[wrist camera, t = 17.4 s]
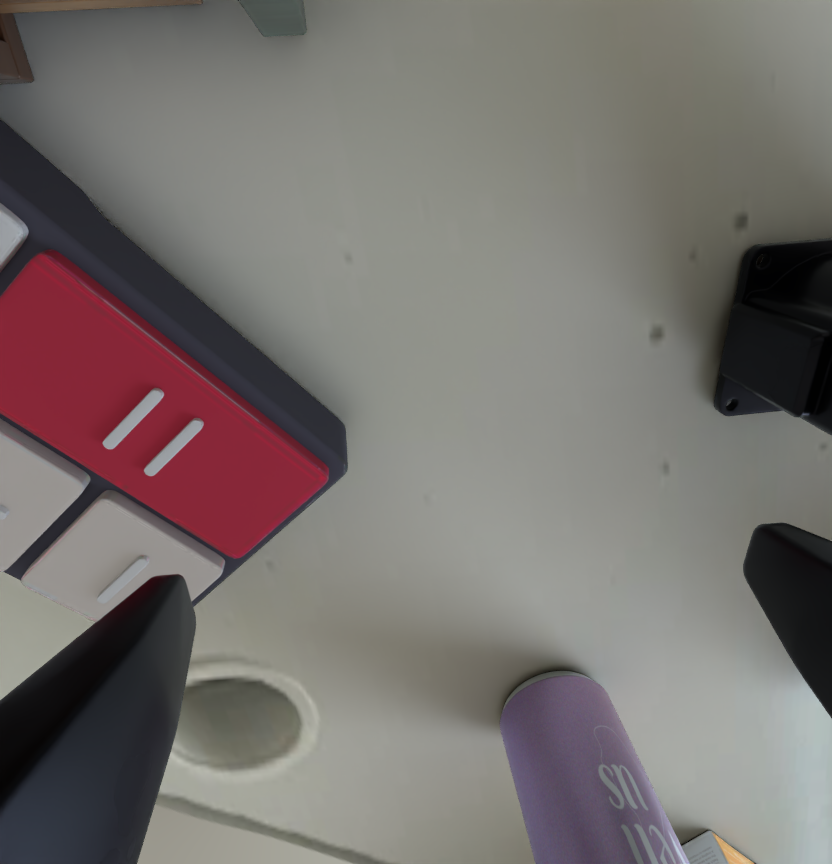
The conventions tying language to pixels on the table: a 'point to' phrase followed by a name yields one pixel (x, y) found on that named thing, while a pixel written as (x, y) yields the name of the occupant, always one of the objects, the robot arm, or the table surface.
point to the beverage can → (581, 777)
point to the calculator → (132, 411)
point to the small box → (712, 851)
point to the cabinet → (12, 53)
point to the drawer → (264, 3)
